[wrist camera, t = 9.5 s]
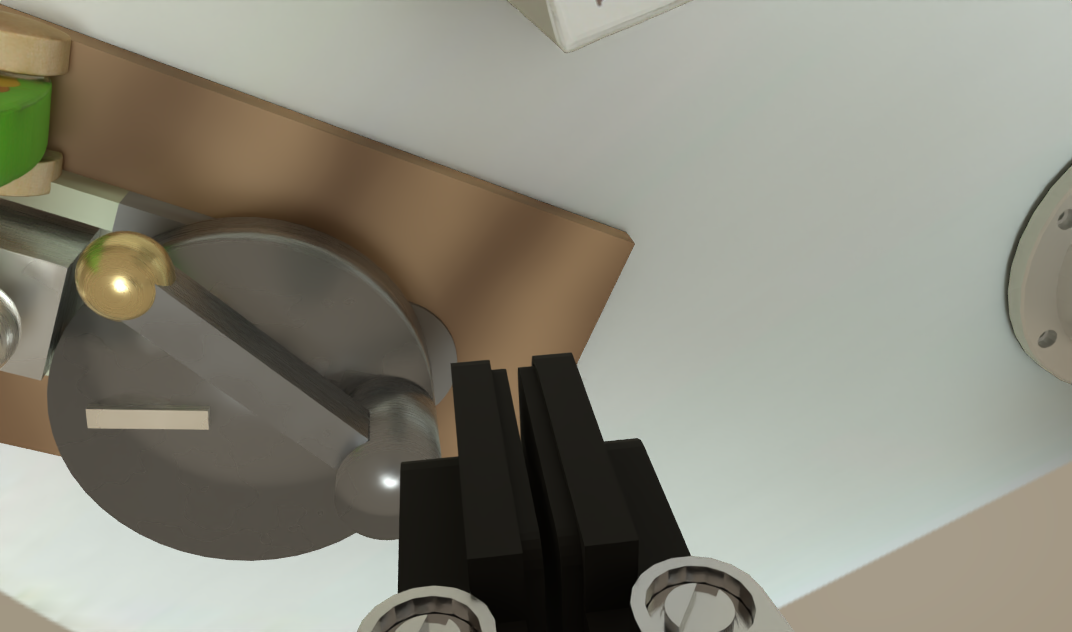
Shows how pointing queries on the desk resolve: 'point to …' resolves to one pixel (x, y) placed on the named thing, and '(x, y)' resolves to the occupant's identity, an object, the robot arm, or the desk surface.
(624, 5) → the skincare box
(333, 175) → the stand
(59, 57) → the toy lion
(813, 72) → the desk surface
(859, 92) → the desk surface
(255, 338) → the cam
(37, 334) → the block with glass ball
